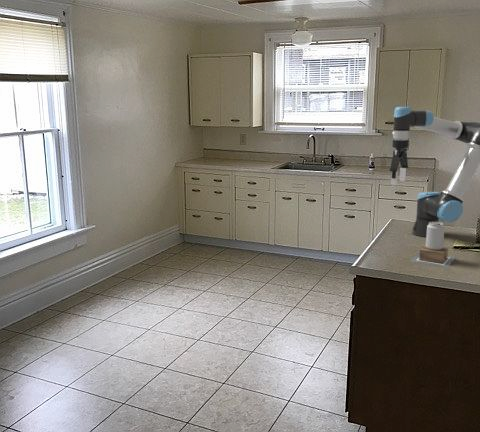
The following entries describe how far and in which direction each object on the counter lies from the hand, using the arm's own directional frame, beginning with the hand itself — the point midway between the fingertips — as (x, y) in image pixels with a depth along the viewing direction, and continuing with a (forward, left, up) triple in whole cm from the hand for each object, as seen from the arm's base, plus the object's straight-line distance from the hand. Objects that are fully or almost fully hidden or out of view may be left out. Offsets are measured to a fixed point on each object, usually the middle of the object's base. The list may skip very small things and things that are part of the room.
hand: (398, 182), depth 257 cm
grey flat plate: (+16, +23, -32) cm, 42 cm away
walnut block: (+16, +23, -31) cm, 42 cm away
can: (+16, +23, -26) cm, 38 cm away
